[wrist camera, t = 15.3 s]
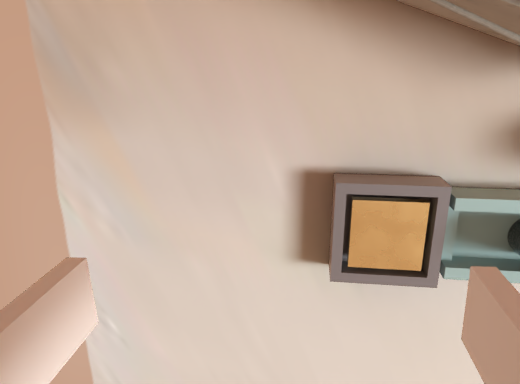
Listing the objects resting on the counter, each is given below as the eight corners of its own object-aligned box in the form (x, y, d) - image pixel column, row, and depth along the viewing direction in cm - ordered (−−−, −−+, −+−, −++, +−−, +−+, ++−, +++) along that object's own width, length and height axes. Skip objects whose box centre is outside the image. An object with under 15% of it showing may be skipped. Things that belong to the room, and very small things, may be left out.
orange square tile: (351, 196, 38) (352, 199, 37) (427, 199, 38) (430, 202, 37) (347, 261, 40) (347, 266, 40) (418, 266, 40) (420, 271, 39)
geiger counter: (854, 10, 21) (385, -161, 21) (763, 129, 23) (336, -28, 23) (641, 31, 34) (356, -73, 34) (596, 105, 36) (327, 6, 36)
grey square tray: (334, 173, 40) (336, 183, 37) (440, 176, 39) (451, 187, 36) (328, 264, 43) (330, 281, 40) (427, 270, 42) (437, 287, 39)
